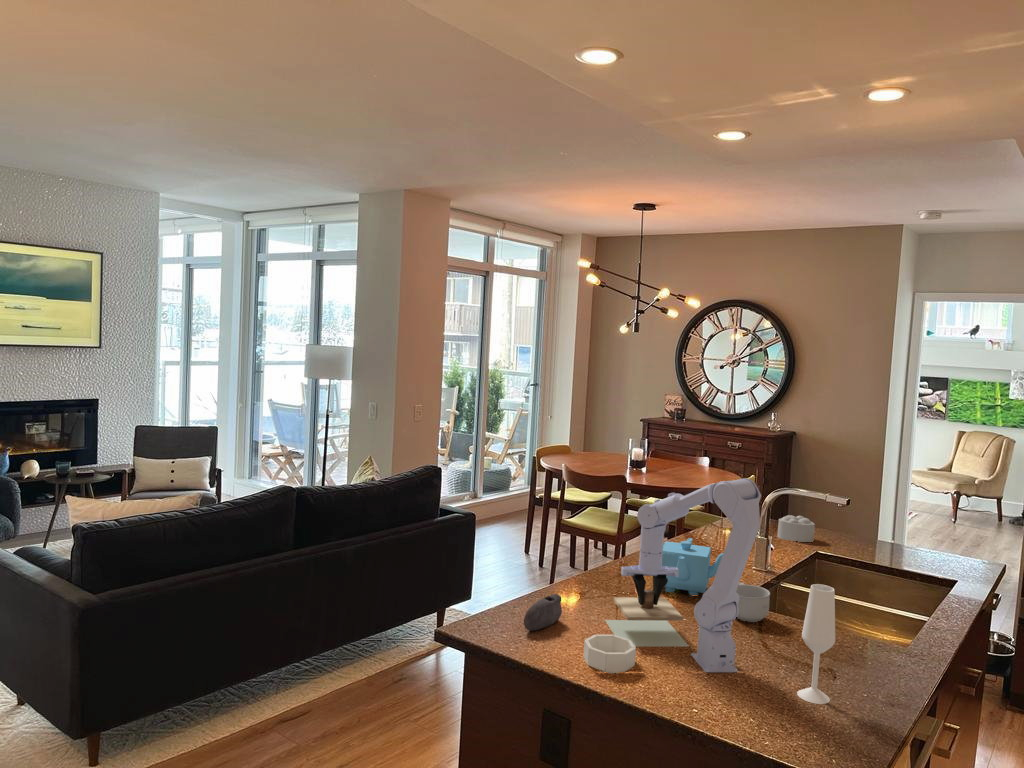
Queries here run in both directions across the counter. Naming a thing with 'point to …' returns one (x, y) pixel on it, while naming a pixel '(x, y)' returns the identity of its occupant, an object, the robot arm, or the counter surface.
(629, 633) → the mat
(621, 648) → the bowl
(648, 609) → the cover
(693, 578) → the teakettle
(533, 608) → the perforated stone tool
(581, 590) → the counter surface
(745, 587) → the teacup
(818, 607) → the champagne flute
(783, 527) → the lumpy-topped squat cylinder
